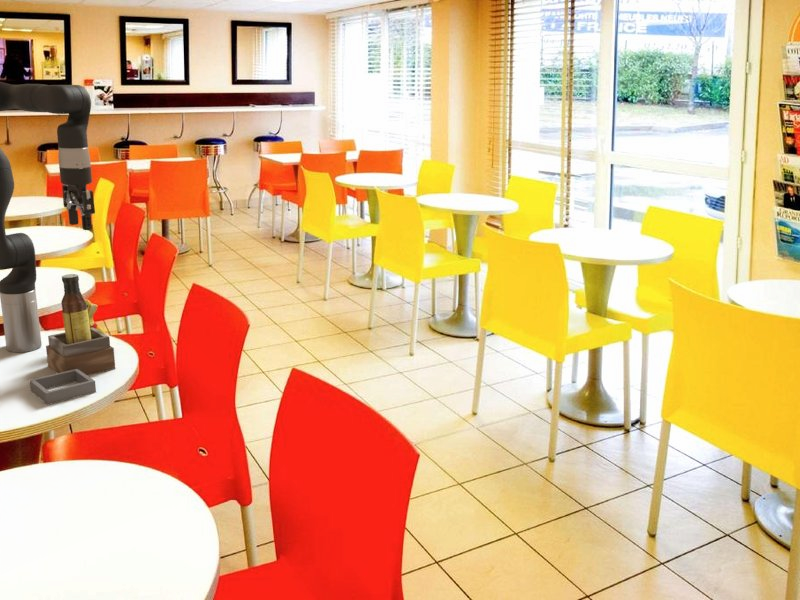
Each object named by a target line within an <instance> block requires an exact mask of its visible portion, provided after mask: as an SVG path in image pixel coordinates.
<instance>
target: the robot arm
mask: <svg viewBox="0 0 800 600" xmlns="http://www.w3.org/2000/svg"><path fill="white" fill-rule="evenodd" d="M91 109H92V100H91V96H90V94H89V92H88V90H87V89H86V88H85V87H84V86H83V85H80V84H50V85H48V84H44V83H43V84H42V83H24V84H10V83H6V82H2V81H0V112H4V111H7V110H20V111H24V112H31V113H32V112H33V113H49V114H53V115H54V114H55V115H68V116H67V121H66V122H64V123H61V124H59V125H58V126H57V129H56V136H57V143H58V144H57V147H58V156H57V158H58V168H59V176H60V177H59V179H60V183H61V184H62V186H61V188H62V189H61V191H62V200H63V202H62V203H63V207H64V208H66V211H67V212H68V213H67V214H68V223H69V225H71V226H75V225H78V224H79V214H78V213H79V212H78V210H79V211H80V215H81V216H80V217H81V226H82V230H83V231H90V230H92V228H93V225H92V215H93V214H94V215H95V213H96V209H95V202H94V192H93V190H91V189H90V190H88V189H87V185H90V184H92V182H93V179H92V178H93V177H92V176H93V175H92V166H91V156H90V152H89V151H90V150H89V143H88V134H87V132H88V126H89V120H90V115H91V111H92V110H91ZM14 191H15V179H14V175H13V170H12V165H11V162H10V160H9V158H8V156H7V155H6V154H5V152H4V151H3V150H2V148H1V147H0V271H4V270H9V269H11V270H10V272H9V273H7V275H6V276H5V277H3V278H2V279H1V280H0V305H1V306H0V307H1V314H2V322H3V323H2V324H3V329H4V338H5V339H4V340H5V346H6V347H5V348H6V350H7V351H9V352H12V353H24V352H30V351H34V350H37V349H39V348H41V346H42V344H43V343H42V336H41V327H40V318H39V316H40V315H39V309H38V301H37V300H38V299H37V293H36V281H37V265H36V264H37V261H36V259H37V258H36V250H35V246H34V243H33V240H32V239H31V237H30V236H29V235H28V234H26V233H24V232H16V233H11V234H6V226H5V218H6V217H5V216H6V213H7V211H8V207H9V205H10V202H11V200H12V197H13V194H14Z"/></svg>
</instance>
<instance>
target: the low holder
mask: <svg viewBox="0 0 800 600" xmlns="http://www.w3.org/2000/svg"><path fill="white" fill-rule="evenodd" d="M72 383H75V384H72ZM66 384H71V385H67V386H63V385H66ZM59 386H63V387H59ZM96 386H97V385H96V380H94V378H91V377H90V375H88V376H87V375H86V374H84V373H83V372H81V371H80V370H79V369H74V370H69V371H65V372H61V373H53V374H49V375H44V376H41V377H37V378H33V379H29V389H30V392H31V393H33V394H34V395H35V396H36V397H37V398H39V400H41V402H43V403H45V404H46V405H53V404H55V403H60V402H63V401H64V402H65V401H68V400H71V399H74V398H75V399H76V398H78V397H82V396H83V397H84V396H86V395H90V394H94V393H97V387H96ZM55 387H59V388H56V389H52V390H48V389H50V388H55Z"/></svg>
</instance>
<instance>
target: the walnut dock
mask: <svg viewBox="0 0 800 600" xmlns="http://www.w3.org/2000/svg"><path fill="white" fill-rule="evenodd" d="M90 332H91V340H87V341H82V342H77V343H73V344H68V343H67V341H66V334H65V332H61V333H60V332H59V333H56V334H50V335H48V336H47V338H48V344H47V345H45V348H46V351H45V352H46V358H47V359H46V361H47V367H48V368H49V369H51V370H52V371H54V372H55V373H56V372H57V373H61V372H65V371H69V370H74V369H79V370H80V371H81V372H83V373H84V374H86V375H87V376H90V375H95V373H96V374H99V372H100V373H103V372H102V371H104V372H107V370H108V371H112V370H115V369H116V362H115V361H116V360H115V348H114V347H113V346H112V345H111V342H110V339H111V338H110V336H109V335H107V334H106V333H105V334H106V335H105V334H103V333H102V332H100V331H98V330H97V329H95V328H93V327H90ZM111 369H112V370H111ZM57 373H56V374H57Z"/></svg>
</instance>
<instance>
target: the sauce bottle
mask: <svg viewBox="0 0 800 600" xmlns="http://www.w3.org/2000/svg"><path fill="white" fill-rule="evenodd" d="M79 280H80V277H79V274H77V273H76V274H75V273H69V274H68V273H67V274H64V275H62V276H61V282H62V283H63V291H64V292H63V293H64V295H63V297H62V300H61V301H60V302H61V309H62V320H63V327H64V331H65V332H64V333H65V334H66V341H67V343H68V344H73V343H77V342H82V341H87V340H91V332H90V325H89V317H88V310H87V304H86V303H85V301H84V300H85V298H84V296H83V295H82V292H81V290H80V283H79Z"/></svg>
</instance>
